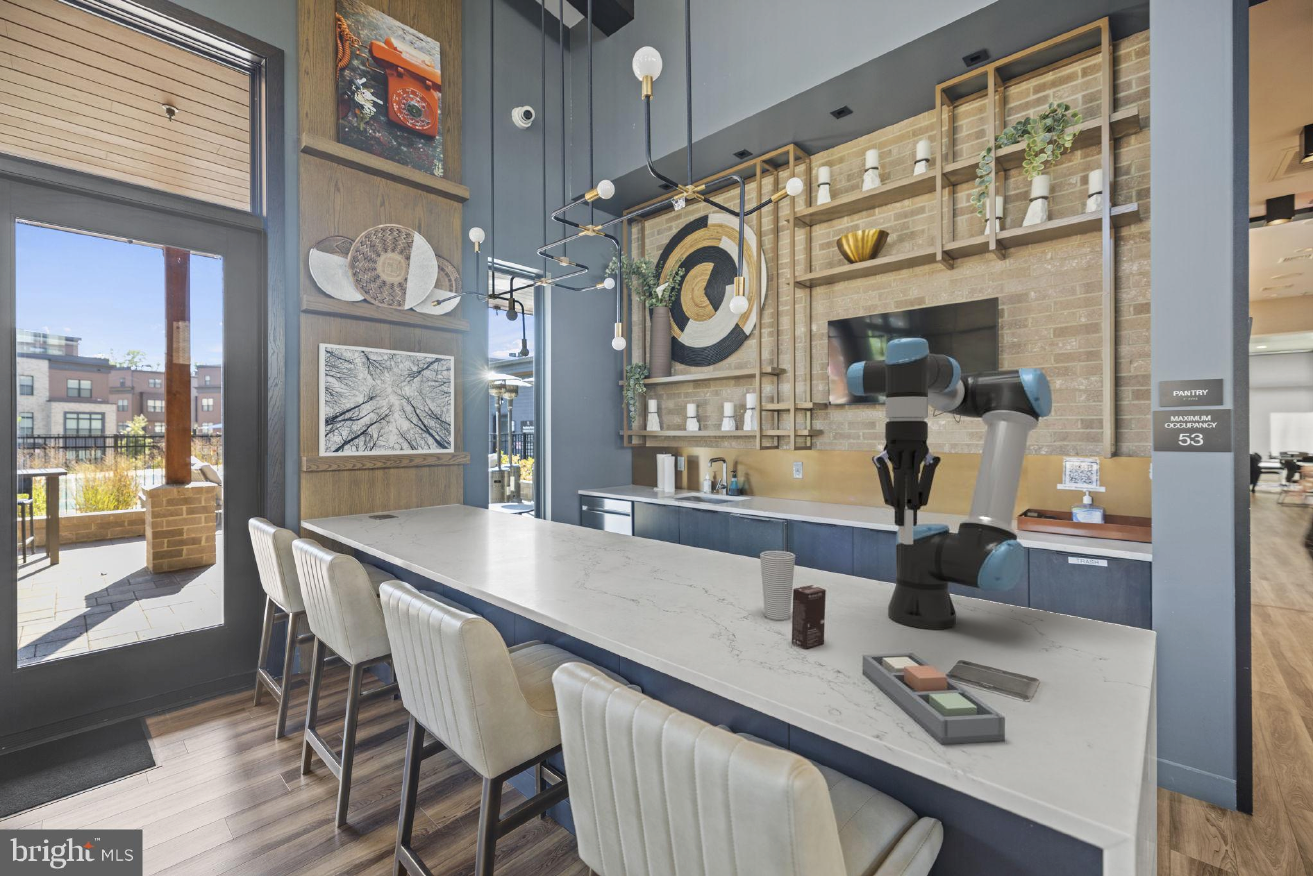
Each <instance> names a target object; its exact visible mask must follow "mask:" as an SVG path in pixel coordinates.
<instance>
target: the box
mask: <svg viewBox="0 0 1313 876" xmlns="http://www.w3.org/2000/svg"><path fill="white" fill-rule="evenodd" d="M826 592H827V590H826V589H825V588H822V587H819V586H817V585H816V586H815V585H813V584H811V585H806V586H800V587H795V588H792V621H791V622H792V623H791V644H792V645H794V646H796V647H798V648H802V649H810V648H813V647H817V646H820V645H824V644H825V620H826V618H825V617H826V616H825V615H826V598H827V597H826V594H827V593H826Z"/></svg>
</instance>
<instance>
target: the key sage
mask: <svg viewBox="0 0 1313 876" xmlns="http://www.w3.org/2000/svg"><path fill="white" fill-rule="evenodd" d="M929 705H930V706H931V707H932V708H933V709H935V710H936V711H937V712H938V713H939V714H941V715H942V716H943V717H951V716H970V715H977V707H976V706H975V705H973V704H972V703H971V702H969V701H968V700H966V699H965V698H964V697H962V696H961V695H959V694H958V693H946V694H929Z"/></svg>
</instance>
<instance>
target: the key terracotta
mask: <svg viewBox="0 0 1313 876" xmlns="http://www.w3.org/2000/svg"><path fill="white" fill-rule="evenodd" d="M947 677H948V676H947V675H945V674H944V673H942V672H940V671H939V670H938V669H936V668H935V667H934V668H933V666H932V665H931V664H929V665H928V666H904V681H905V682H906V683H907V684H908V685H910V686H911V687H912V688H913V689H915V690H916V691H917V692H924V691H944V690H947Z"/></svg>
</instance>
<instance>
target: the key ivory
mask: <svg viewBox="0 0 1313 876" xmlns="http://www.w3.org/2000/svg"><path fill="white" fill-rule="evenodd" d="M904 666H919V665H918V664H916V663H915V662H914V661H912V660H911V659H909V658H908V657H891V658H883V663H882V667H883V668H884V669H886V670H887V671H888V672H889V673H898V672H904Z"/></svg>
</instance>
